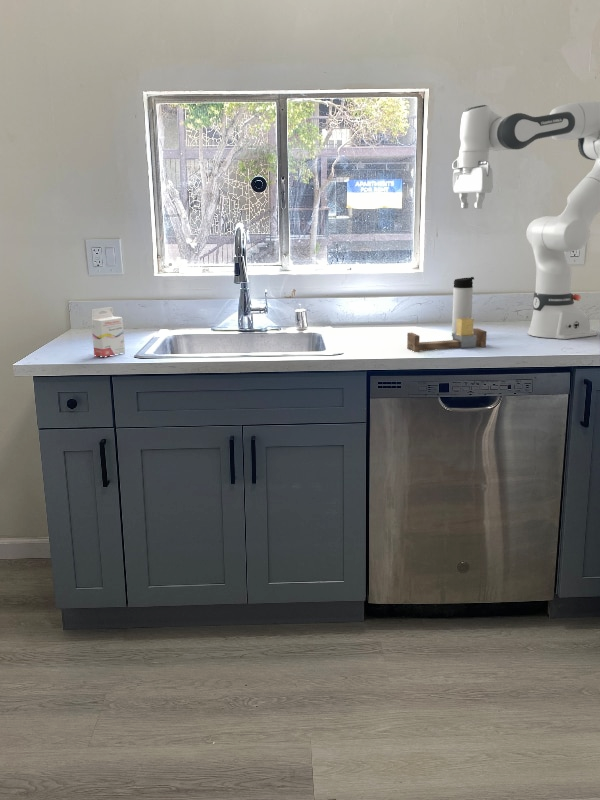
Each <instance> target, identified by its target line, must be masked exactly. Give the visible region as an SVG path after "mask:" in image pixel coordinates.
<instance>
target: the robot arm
mask: <svg viewBox="0 0 600 800" xmlns="http://www.w3.org/2000/svg"><path fill="white" fill-rule="evenodd" d="M460 119H461V120H460V127H459V128H460V129H459V140H460V147H459V151H458V156H457V158H456V159H455V160H454V161H453V162H452V164H451V165H452V166H451V168H452V170H453V173H452V191H453V193H454V194H459V196H458V197H459V200H460V204H461V205H460V208H461V209H468V208H469V202H468V196H469V195H468V194H476V200H475V201H476V202H474V208H475V209H476V210H477V209H479V210H480V209H483V202H484V200H485V198H486V194H489V193H491V192H492V191H493V187H494V186H493V183H494V182H493V181H494V179H493V169H492V167H491V164H490V163H489V152H490V151H493V152H502V151H509V150H522V149H524V148H526V147H527V146H529V145H530V144H532V143H533V142H534V141H536V140H538V139H543V138H549V137H551V139H552V140H554V141H558V142H559V141H563V142H566V141H575V140H577V148H578V152H579V154H580V155H581V156H582V157H583V158H584V159H586V160H591V161H595V162H594V165H593V167H592V168H591V170H590V171H589V172H588V173H587V174H586V176H584V178H582V179H581V180H580V181H579V183H578V184H577V185H576V186H575V187H574V188H573V190H572V191H571V192H570V193H569V194H568V195H567V198H566V204H567V205H566V206H565V208H564V210H562V213H560V214H559V215H557V216H555V215H547V216H546V215H544V216H541V217H538V218H535V219H534V220H532V221H531V222H530V223H529V224H528V226H527V227H526V228H527V229H526V233H525V235H526V239H527V241H528V243H529V245H530V246H531V248H532V252H533V256H534V263H535V271H536V272H535V273H536V274H535V291H534V293H533V299H532V305H533V306H532V307H533V312H532V317H531V322H530V325H529V328H528V331H527V334H528V335H529V336H533V337H538V338H549V339H559V340H567V339H568V340H569V339H577V338H578V339H579V338H585V337H592V336H597V335H598V333H597V331H596V330H593V329H591V322H590V321H591V320H590V317H589V316H588V314H587V313H585V312H584V311H583V310H582V309H581V308H580V307H578V305H576V304H575V302H574V301H577V302H578V301H580V300H581V298H582V296H581V295H580V294H577V293H575V294H573V293H571V284H572V273H573V271H572V268H571V267H572V266H571V265H570V264H569V263H568V260H567V256H566V253H568V252H574V251H578V250H580V249H582V248H583V247H585V246H586V245H587V243H588V242H589V239H590V236H591V233H590V232H591V231H590V227H591V225H592V223H593V221H594V219H595V217H597V215H598V214H599V212H600V101H594V100H593V101H592V100H587V101H585V100H583V101H582V100H581V101H575V102H569V103H565V104H561V105H559V106H556V107H554V108H552V109H551V110H550V112H549V114H546V115H539V116H531V115H528V114H525V113H521V112H518V113H513V114H510V115H507V116H502V115H499V114H497V113H495V112H494V111H493V110H492V109H491V108H490V107H489V106H488V105H486V104H481V105H476V106H471V107H468V108H466V109H465V110H464V111H463V113H462V115H461V118H460Z"/></svg>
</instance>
